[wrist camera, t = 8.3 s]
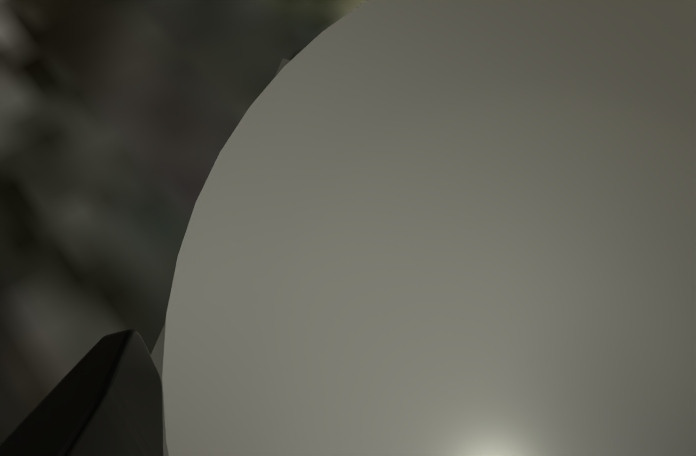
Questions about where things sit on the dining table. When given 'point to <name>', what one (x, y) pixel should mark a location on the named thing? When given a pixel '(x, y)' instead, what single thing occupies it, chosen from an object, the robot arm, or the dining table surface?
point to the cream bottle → (450, 241)
